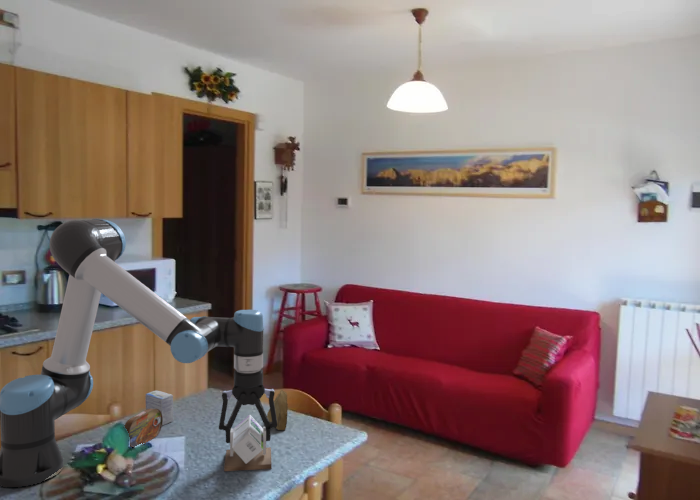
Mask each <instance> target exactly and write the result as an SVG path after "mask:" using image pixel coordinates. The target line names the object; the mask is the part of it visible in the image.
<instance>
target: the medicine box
mask: <svg viewBox="0 0 700 500" xmlns="http://www.w3.org/2000/svg"><path fill="white" fill-rule="evenodd" d="M146 409H159V410H160V411H161V413H162V417H163V422H162V426H165V425H167V424H170V423H172V422H174V395H173V394H171V393H167V392H164V391H161V390H152V391H150V392H148V393H145V410H146Z"/></svg>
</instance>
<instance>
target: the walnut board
mask: <svg viewBox="0 0 700 500" xmlns="http://www.w3.org/2000/svg"><path fill="white" fill-rule="evenodd" d="M225 451H226V452H225V459H224V466H223V471H224V472H234V471H237V472H238V471H252V470H253V471H254V470H255V471H256V470H271V469H272V448H271V446H270V447H266V455H263V450H262V451H261V452H260V453H259V454H257V455H256V456H255V457H254V458H253V459H251V460H250V461H249V462H248V463H247V464H246V463H245V462H244V461H243V460H242V459H241V458H240V457H239V456H238V455H237V454H236V453H235V451H234V452H233V456H230V449H225Z"/></svg>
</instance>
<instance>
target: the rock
mask: <svg viewBox="0 0 700 500" xmlns="http://www.w3.org/2000/svg"><path fill="white" fill-rule="evenodd" d="M274 406H275V412H276V418H277V427H275V429H277V430H278V431H285V430H286V428H287V423H288V407H289V406H288V394H287V392H286V391H284V390H280V391H279V393H278V394H277V395H276V397H275V398H274ZM266 415H267V417H268V420H269V422H271V421H272V418H271V412H270V408H269V409H268V412H267V414H266Z"/></svg>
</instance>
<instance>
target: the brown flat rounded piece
mask: <svg viewBox="0 0 700 500" xmlns="http://www.w3.org/2000/svg"><path fill="white" fill-rule="evenodd" d="M162 422H163V417H162V413H161V411H160V410H159V409H146V408H145V410H143V411H141V412H139V413H138V414H136V415H134V416H132V417H130V418H129V419H128V420H127V421H126V422H125V424H124V426H125V428H126V429H127V431H128V433H129V437H130V446H131V447H135V446H137V445H139V444H141V443H142V444H143V443H145V444H147V443H148V441H149V442H150V441H151V440H154V439H155V438H156V437H158V436H159V434H160V432H161V431H162V427H163V425H162ZM124 426H123V427H124ZM146 442H147V443H146Z"/></svg>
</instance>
